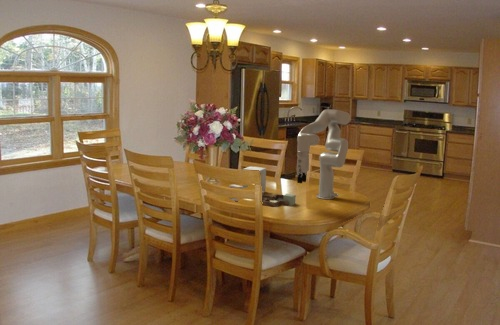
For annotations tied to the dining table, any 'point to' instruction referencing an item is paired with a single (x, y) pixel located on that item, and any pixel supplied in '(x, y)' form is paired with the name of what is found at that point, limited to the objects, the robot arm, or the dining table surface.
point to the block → (289, 199)
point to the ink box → (235, 187)
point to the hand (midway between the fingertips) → (301, 181)
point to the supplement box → (263, 176)
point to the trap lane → (277, 198)
